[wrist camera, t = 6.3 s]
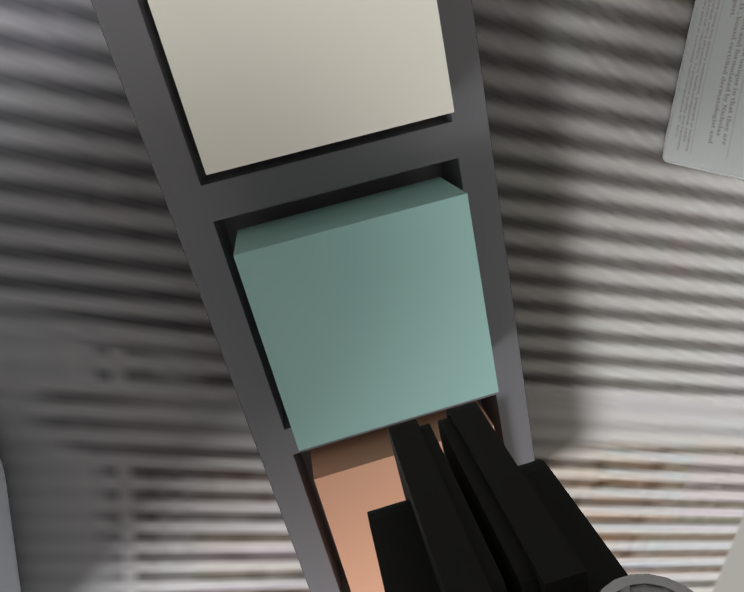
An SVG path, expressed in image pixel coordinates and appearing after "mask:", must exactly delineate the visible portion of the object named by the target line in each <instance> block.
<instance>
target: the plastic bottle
mask: <svg viewBox="0 0 744 592" xmlns="http://www.w3.org/2000/svg"><path fill="white" fill-rule="evenodd" d="M0 592H21V588H20V580H19V573H18V566H17V559H16V551H15V544H14V537H13V530H12V522H11V515H10V508H9V500H8V493H7V486H6V479H5V473H4V468H3V465H2V462H1V459H0Z"/></svg>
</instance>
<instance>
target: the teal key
mask: <svg viewBox="0 0 744 592" xmlns="http://www.w3.org/2000/svg"><path fill="white" fill-rule="evenodd" d="M233 256H234V259H235V262H236V265H237V268H238V271H239V274H240V277H241V280H242V283H243V286H244V289H245V292H246V295H247V298H248V301H249V304H250V307H251V310H252V313H253V316H254V319H255V322H256V325H257V328H258V331H259V334H260V336H261V339H262V342H263V345H264V348H265V351H266V354H267V357H268V360H269V363H270V366H271V369H272V372H273V375H274V378H275V381H276V384H277V387H278V390H279V393H280V396H281V399H282V402H283V405H284V408H285V411H286V414H287V417H288V420H289V423H290V426H291V429H292V432H293V435H294V437H295V440H296V443H297V446H298V449H299V451H300V450H304V449H307V448H311V447H314V446H317V445H321V444H324V443H327V442H331V441H334V440H338V439H341V438H344V437H348V436H351V435H355V434H358V433H361V432H365V431H368V430H371V429H375V428H378V427H382V426H385V425H388V424H392V423H395V422H398V421H402V420H405V419H409V418H412V417H415V416H419V415H422V414H425V413H429V412H432V411H436V410H439V409H442V408H446V407H449V406H452V405H456V404H459V403H463V402H466V401H469V400H473V399H476V398H479V397H483V396H486V395H490V394H493V393H496V392H499V390H498V384H497V378H496V372H495V365H494V359H493V353H492V346H491V340H490V334H489V327H488V321H487V315H486V308H485V302H484V296H483V289H482V283H481V277H480V270H479V264H478V258H477V252H476V245H475V239H474V233H473V226H472V220H471V214H470V207H469V201H468V195H467V193H466V192H464V191H463V190H461V189H459V188H458V187H456V186H454V185H452V184H451V183H449V182H447V181H446V180H444V179H442V178H441V177H437V178H433V179H429V180H425V181H421V182H418V183H414V184H410V185H406V186H402V187H399V188H395V189H391V190H387V191H383V192H380V193H376V194H372V195H368V196H364V197H361V198H357V199H353V200H349V201H345V202H342V203H338V204H334V205H330V206H326V207H323V208H319V209H315V210H311V211H307V212H304V213H300V214H296V215H292V216H288V217H285V218H281V219H277V220H273V221H269V222H265V223H262V224H258V225H254V226H250V227H246V228H243V229H239V230H237V236H236V242H235V248H234V254H233Z"/></svg>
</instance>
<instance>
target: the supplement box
mask: <svg viewBox="0 0 744 592" xmlns="http://www.w3.org/2000/svg"><path fill="white" fill-rule="evenodd" d="M663 160H664V161H665V162H667V163H671V164H675V165H680V166H684V167H688V168H693V169H697V170H701V171H706V172H710V173H714V174H719V175H723V176H728V177H733V178H738V179H742V180H744V0H695V4H694V9H693V13H692V18H691V22H690V26H689V30H688V35H687V40H686V45H685V50H684V54H683V58H682V62H681V67H680V71H679V76H678V81H677V85H676V91H675V95H674V99H673V104H672V109H671V114H670V119H669V123H668V127H667V132H666V137H665V143H664V149H663Z"/></svg>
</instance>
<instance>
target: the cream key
mask: <svg viewBox="0 0 744 592" xmlns="http://www.w3.org/2000/svg"><path fill="white" fill-rule="evenodd" d="M147 1H148V4H149V7H150V10H151V13H152V16H153V19H154V22H155V25H156V28H157V30H158V33H159V36H160V39H161V42H162V45H163V48H164V51H165V54H166V57H167V60H168V63H169V66H170V69H171V72H172V75H173V78H174V81H175V84H176V87H177V90H178V93H179V96H180V99H181V102H182V105H183V108H184V111H185V114H186V117H187V120H188V123H189V126H190V129H191V131H192V134H193V137H194V140H195V143H196V146H197V149H198V152H199V155H200V158H201V161H202V164H203V167H204V170H205V173H206V175H209V174H213V173H217V172H221V171H225V170H229V169H233V168H237V167H241V166H245V165H248V164H252V163H256V162H260V161H264V160H268V159H272V158H276V157H280V156H284V155H288V154H292V153H296V152H300V151H303V150H307V149H311V148H315V147H319V146H323V145H327V144H331V143H335V142H339V141H343V140H347V139H351V138H355V137H358V136H362V135H366V134H370V133H374V132H378V131H382V130H386V129H390V128H394V127H398V126H402V125H406V124H410V123H413V122H417V121H421V120H425V119H429V118H433V117H437V116H441V115H445V114H449V113H453V112H454V106H453V100H452V94H451V87H450V81H449V75H448V68H447V62H446V56H445V49H444V43H443V37H442V30H441V24H440V18H439V11H438V5H437V0H147Z"/></svg>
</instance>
